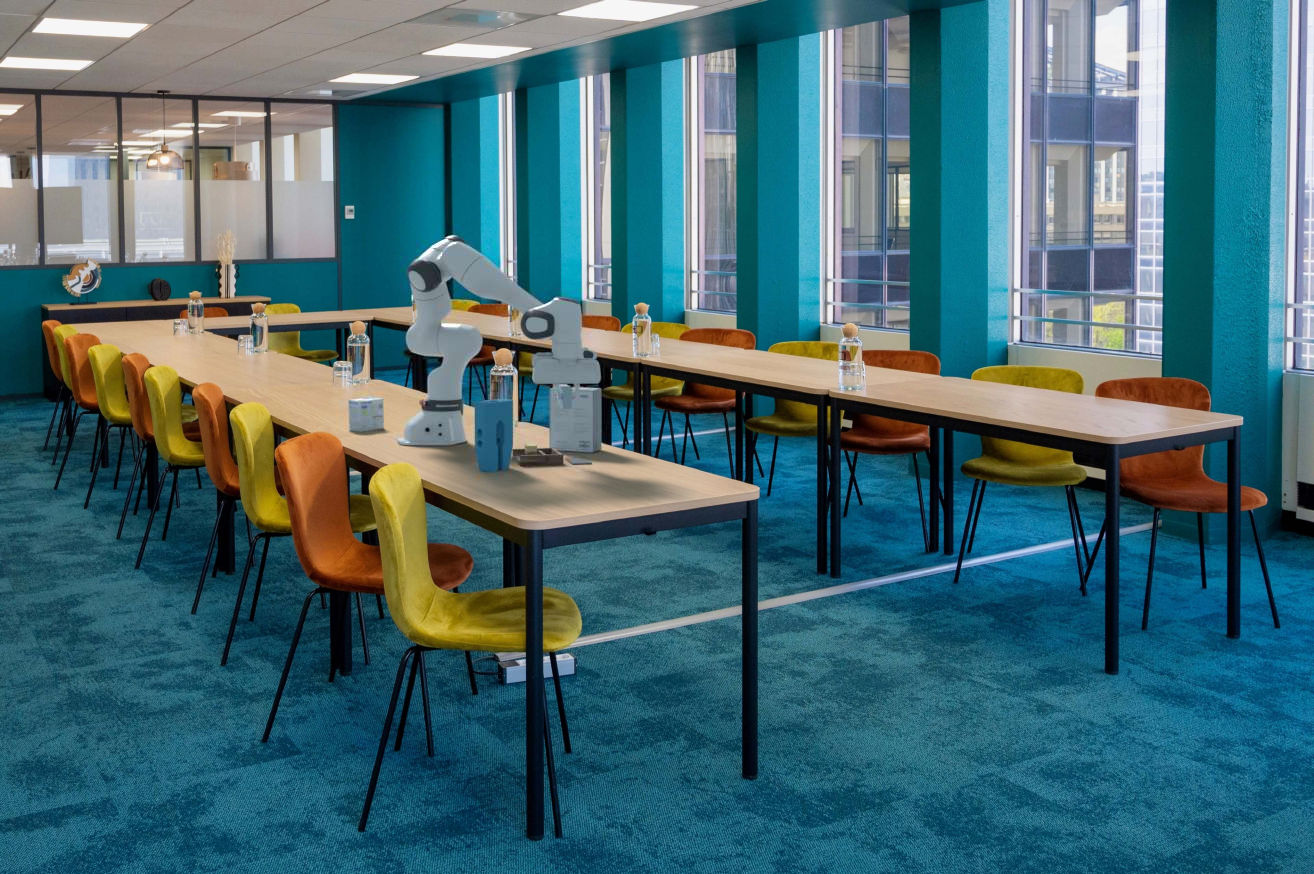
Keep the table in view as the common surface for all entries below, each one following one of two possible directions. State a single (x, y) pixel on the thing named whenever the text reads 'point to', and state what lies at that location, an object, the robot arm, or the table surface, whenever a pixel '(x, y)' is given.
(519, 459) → the rack
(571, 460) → the mat
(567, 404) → the light blue rectangular block
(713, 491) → the table surface
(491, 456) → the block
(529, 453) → the offcut lower
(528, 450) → the offcut upper
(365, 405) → the light bulb box
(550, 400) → the hard drive box
